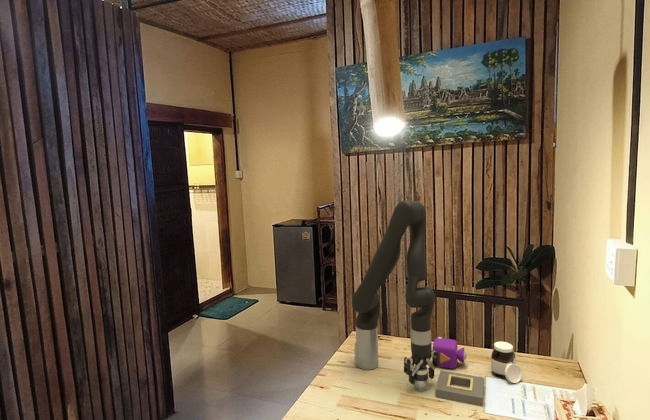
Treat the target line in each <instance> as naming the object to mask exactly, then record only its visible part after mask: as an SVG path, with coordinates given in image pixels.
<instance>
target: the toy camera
mask: <svg viewBox="0 0 650 420" xmlns="http://www.w3.org/2000/svg"><path fill="white" fill-rule="evenodd" d="M432 350H435V351H436V352H438V357H439V367H438V368H444V369H452V370H453V369H455V368H456V367H457V365H458V364H457V363H458V361H459V362H461V364H464V363H465V360H466V359H467V355H468V354H467V352H466V351H465V347H464V346H463V347H462V348H461V347H460V348H459V349H458V341H457V340H455V339H452V338H451V339H450V338H443V337H442V336H438V337H436V338H435V339H434V341H433V344H432Z"/></svg>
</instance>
